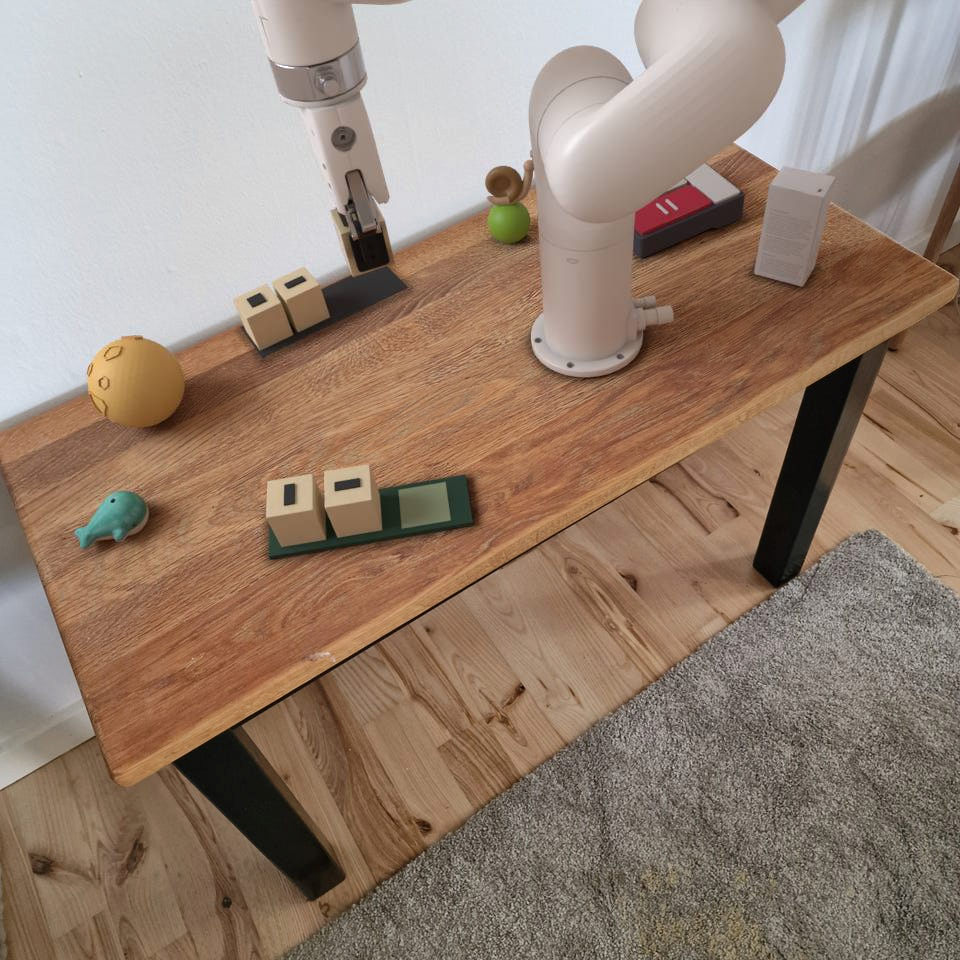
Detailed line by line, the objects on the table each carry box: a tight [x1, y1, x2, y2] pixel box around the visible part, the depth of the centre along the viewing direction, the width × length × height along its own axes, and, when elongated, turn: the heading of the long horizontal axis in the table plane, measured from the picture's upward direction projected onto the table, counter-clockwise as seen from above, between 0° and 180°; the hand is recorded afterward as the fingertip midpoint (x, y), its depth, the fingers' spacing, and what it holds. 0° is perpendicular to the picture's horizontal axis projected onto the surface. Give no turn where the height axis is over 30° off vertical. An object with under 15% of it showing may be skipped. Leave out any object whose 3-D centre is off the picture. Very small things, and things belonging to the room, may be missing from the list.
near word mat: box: [265, 463, 474, 561], centre depth 79 cm, size 20×6×6 cm, turn 98°
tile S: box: [329, 198, 396, 277], centre depth 81 cm, size 4×4×5 cm
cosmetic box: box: [753, 165, 837, 288], centre depth 93 cm, size 6×4×12 cm
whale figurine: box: [74, 490, 150, 551], centre depth 83 cm, size 6×7×4 cm
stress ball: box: [86, 334, 186, 429], centre depth 90 cm, size 10×10×10 cm
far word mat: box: [232, 266, 409, 359], centre depth 100 cm, size 20×7×6 cm, turn 123°
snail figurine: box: [484, 149, 534, 245], centre depth 103 cm, size 5×6×12 cm
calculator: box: [633, 162, 746, 259], centre depth 105 cm, size 11×4×15 cm
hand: (366, 250), depth 82 cm, fingers closed on tile S, 4 cm apart
